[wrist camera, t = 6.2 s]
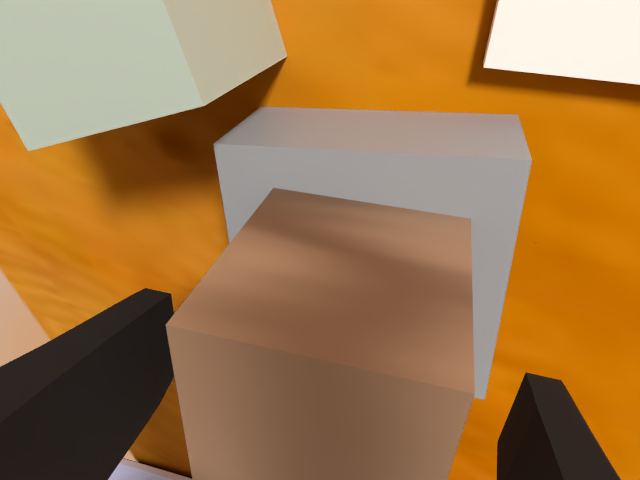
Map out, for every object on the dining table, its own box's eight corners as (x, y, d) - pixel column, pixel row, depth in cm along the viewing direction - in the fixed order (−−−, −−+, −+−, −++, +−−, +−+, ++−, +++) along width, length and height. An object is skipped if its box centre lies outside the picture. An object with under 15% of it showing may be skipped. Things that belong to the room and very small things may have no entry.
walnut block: (274, 330, 14) (194, 493, 10) (273, 187, 11) (164, 325, 7) (434, 365, 13) (421, 559, 9) (471, 218, 11) (474, 393, 6)
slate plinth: (284, 292, 18) (248, 360, 15) (264, 103, 14) (213, 143, 11) (481, 318, 16) (485, 399, 13) (516, 110, 12) (531, 160, 10)
